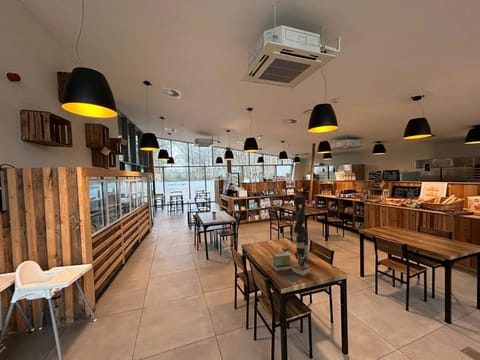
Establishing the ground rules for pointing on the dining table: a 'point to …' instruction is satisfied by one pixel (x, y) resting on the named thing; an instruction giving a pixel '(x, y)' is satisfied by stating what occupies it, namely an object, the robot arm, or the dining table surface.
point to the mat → (291, 277)
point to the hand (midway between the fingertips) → (301, 264)
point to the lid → (300, 266)
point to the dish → (301, 271)
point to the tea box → (281, 261)
